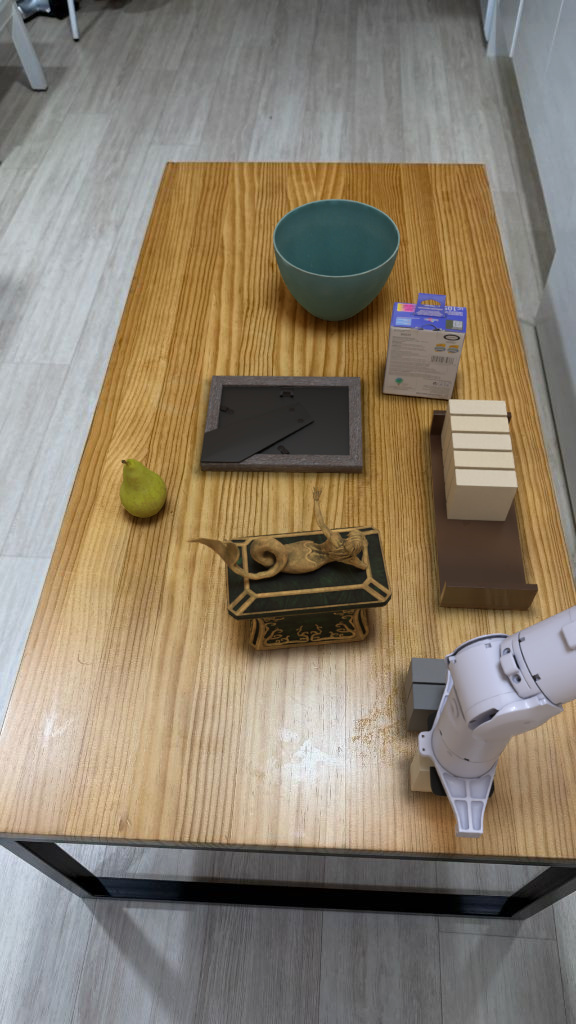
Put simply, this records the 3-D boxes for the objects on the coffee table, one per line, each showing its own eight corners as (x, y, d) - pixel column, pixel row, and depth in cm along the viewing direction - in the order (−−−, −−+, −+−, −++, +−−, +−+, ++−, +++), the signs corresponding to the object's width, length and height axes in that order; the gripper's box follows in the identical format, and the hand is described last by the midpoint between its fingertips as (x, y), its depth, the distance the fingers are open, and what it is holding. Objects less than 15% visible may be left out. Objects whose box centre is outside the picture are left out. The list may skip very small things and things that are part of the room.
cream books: (504, 521, 91) (518, 487, 86) (447, 519, 92) (456, 485, 86) (493, 437, 99) (505, 400, 94) (440, 435, 100) (448, 399, 94)
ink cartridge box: (454, 373, 107) (472, 291, 95) (452, 401, 104) (471, 320, 92) (385, 367, 108) (394, 285, 97) (382, 394, 105) (391, 313, 93)
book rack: (527, 610, 85) (538, 590, 81) (439, 607, 86) (446, 586, 82) (503, 436, 100) (511, 411, 96) (428, 434, 101) (433, 409, 97)
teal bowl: (415, 301, 117) (426, 232, 107) (339, 361, 109) (342, 293, 99) (329, 253, 124) (331, 184, 114) (251, 307, 117) (246, 238, 107)
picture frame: (202, 470, 98) (361, 473, 97) (200, 461, 96) (362, 463, 96) (213, 383, 107) (359, 384, 106) (212, 373, 106) (360, 374, 105)
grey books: (479, 734, 77) (491, 712, 72) (406, 731, 78) (413, 708, 72) (474, 685, 80) (486, 660, 75) (404, 682, 81) (411, 657, 75)
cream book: (481, 794, 74) (496, 774, 68) (410, 790, 74) (419, 770, 68) (479, 770, 75) (493, 748, 69) (410, 766, 76) (418, 744, 70)
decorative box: (371, 570, 89) (385, 467, 73) (385, 644, 83) (403, 550, 67) (203, 585, 88) (180, 485, 72) (206, 661, 83) (181, 570, 66)
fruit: (165, 485, 97) (149, 423, 87) (174, 520, 94) (159, 460, 84) (121, 496, 96) (100, 435, 86) (129, 532, 93) (108, 473, 83)
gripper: (421, 645, 66) (405, 701, 77) (429, 817, 58) (410, 852, 69) (501, 649, 66) (473, 704, 77) (521, 822, 58) (486, 856, 69)
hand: (448, 774), depth 73 cm, fingers closed on cream book, 2 cm apart
